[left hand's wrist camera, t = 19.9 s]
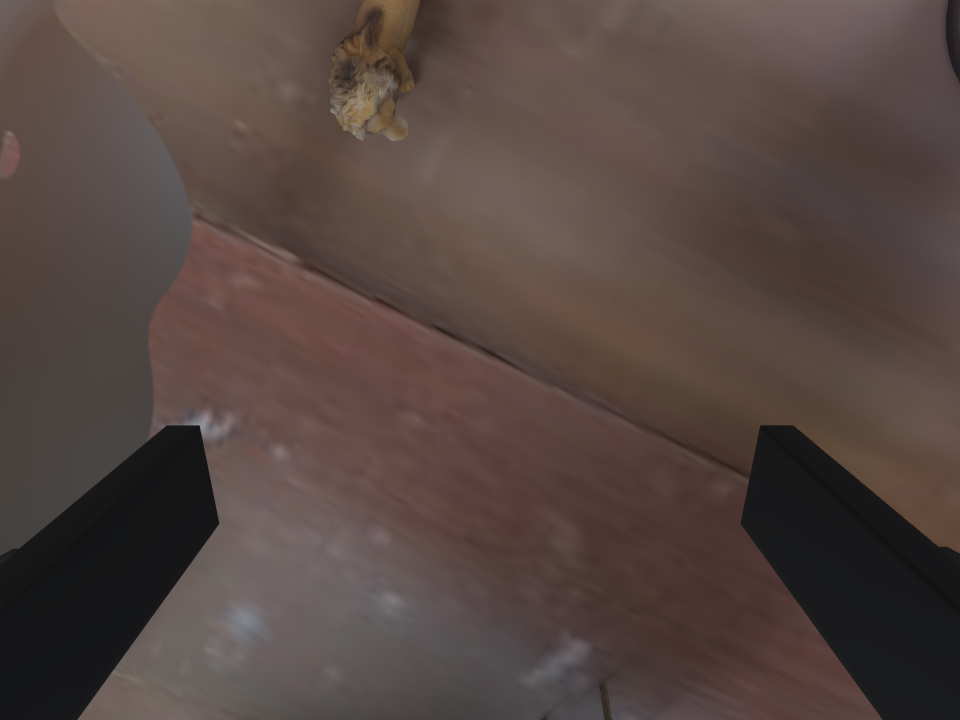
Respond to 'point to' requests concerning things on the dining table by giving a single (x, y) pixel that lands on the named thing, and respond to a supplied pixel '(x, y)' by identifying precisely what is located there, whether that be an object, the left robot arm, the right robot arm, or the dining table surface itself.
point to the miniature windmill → (603, 702)
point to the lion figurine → (373, 70)
